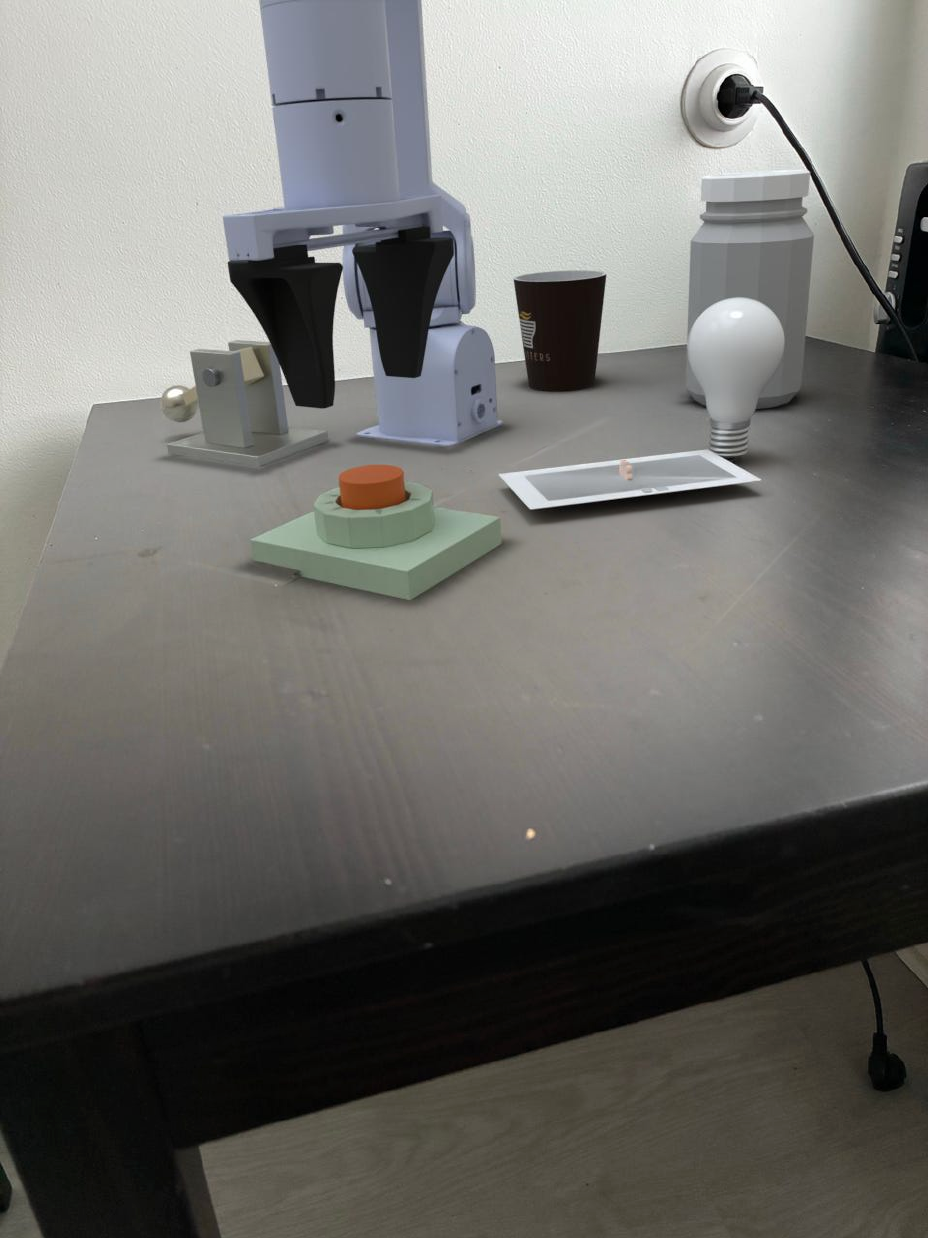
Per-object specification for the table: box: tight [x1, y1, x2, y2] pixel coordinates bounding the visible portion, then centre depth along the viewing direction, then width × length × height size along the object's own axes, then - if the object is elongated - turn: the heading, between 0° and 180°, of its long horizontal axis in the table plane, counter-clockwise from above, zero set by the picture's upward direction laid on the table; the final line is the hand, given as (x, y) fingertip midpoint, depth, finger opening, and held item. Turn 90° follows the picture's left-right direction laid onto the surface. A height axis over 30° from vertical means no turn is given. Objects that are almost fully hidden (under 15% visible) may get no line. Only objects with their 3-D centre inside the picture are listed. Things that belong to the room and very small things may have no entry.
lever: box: [160, 347, 264, 423], centre depth 80 cm, size 11×3×3 cm, turn 57°
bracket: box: [166, 339, 330, 468], centre depth 78 cm, size 10×8×8 cm
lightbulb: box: [686, 297, 785, 462], centre depth 68 cm, size 6×6×11 cm
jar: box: [685, 169, 815, 410], centre depth 83 cm, size 10×10×18 cm
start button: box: [338, 464, 406, 510], centre depth 55 cm, size 4×4×2 cm
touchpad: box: [498, 448, 763, 510], centre depth 64 cm, size 8×15×2 cm, turn 102°
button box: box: [250, 480, 502, 601], centre depth 56 cm, size 11×9×4 cm
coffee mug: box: [513, 269, 607, 392], centre depth 96 cm, size 12×9×10 cm
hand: (361, 390), depth 53 cm, fingers open, 7 cm apart
